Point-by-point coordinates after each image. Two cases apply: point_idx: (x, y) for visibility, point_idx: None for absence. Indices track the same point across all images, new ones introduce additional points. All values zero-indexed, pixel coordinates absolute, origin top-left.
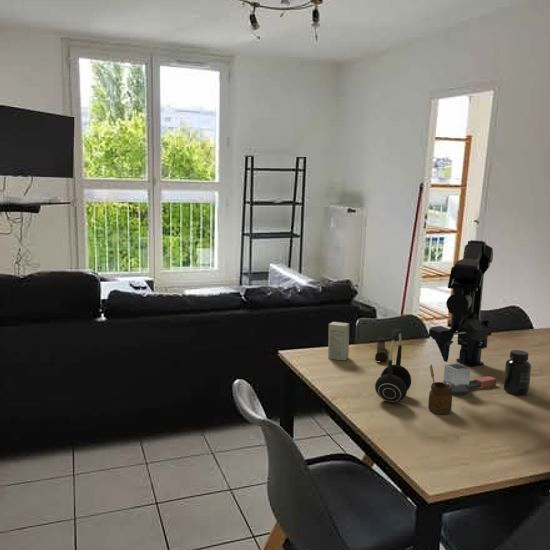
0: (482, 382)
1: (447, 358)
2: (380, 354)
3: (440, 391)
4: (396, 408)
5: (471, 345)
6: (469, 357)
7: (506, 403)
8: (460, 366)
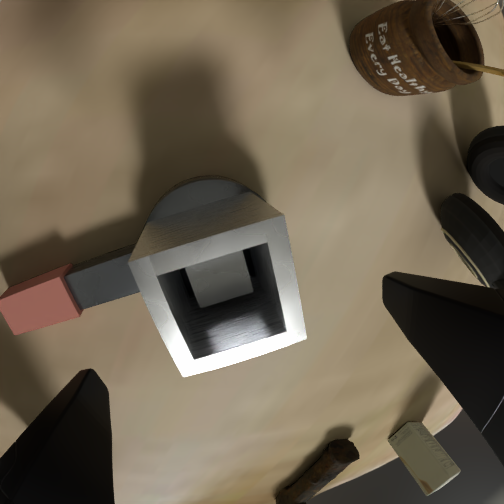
0: (54, 276)
1: (414, 281)
2: (351, 455)
3: (458, 16)
4: (474, 122)
5: (71, 486)
6: (100, 382)
7: (44, 79)
8: (182, 330)
